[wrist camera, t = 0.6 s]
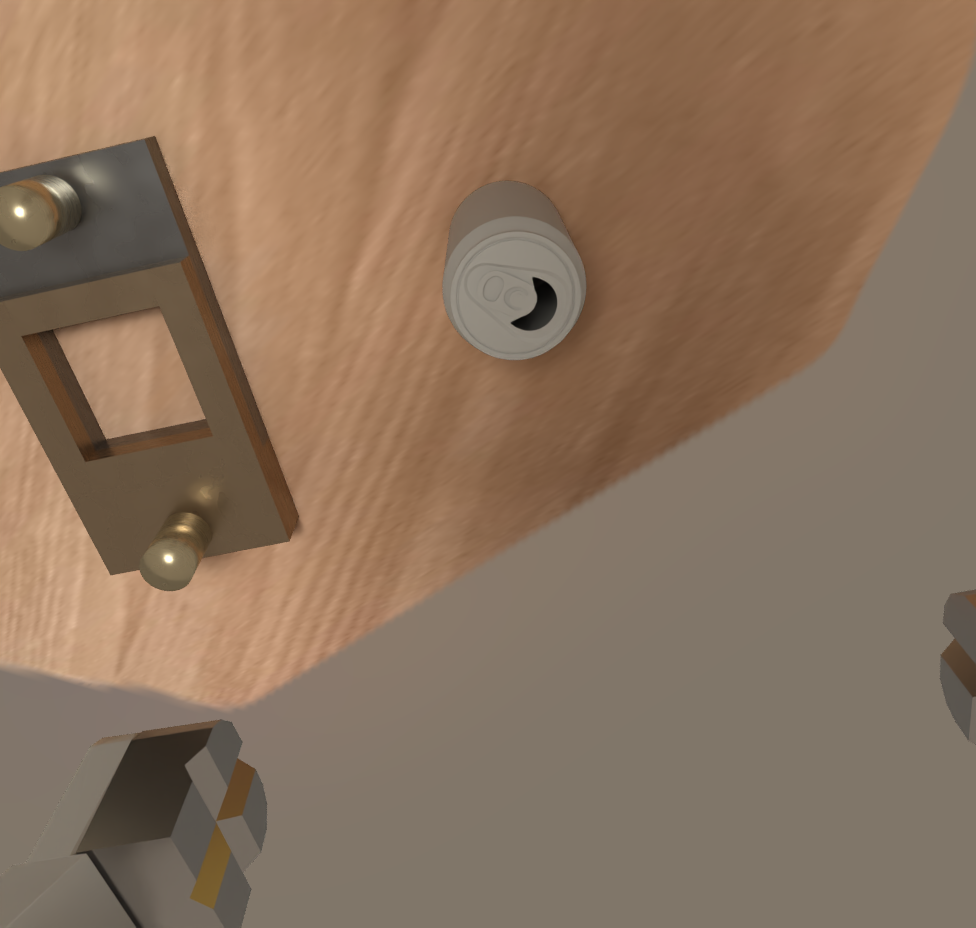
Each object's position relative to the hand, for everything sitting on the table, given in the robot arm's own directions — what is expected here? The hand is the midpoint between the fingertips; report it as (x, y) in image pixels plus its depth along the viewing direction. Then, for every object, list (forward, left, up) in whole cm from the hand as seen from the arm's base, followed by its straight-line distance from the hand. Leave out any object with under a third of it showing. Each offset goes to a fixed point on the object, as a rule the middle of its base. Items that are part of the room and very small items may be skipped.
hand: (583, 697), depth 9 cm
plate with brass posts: (+6, -23, -39) cm, 45 cm away
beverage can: (+3, 0, -39) cm, 39 cm away
